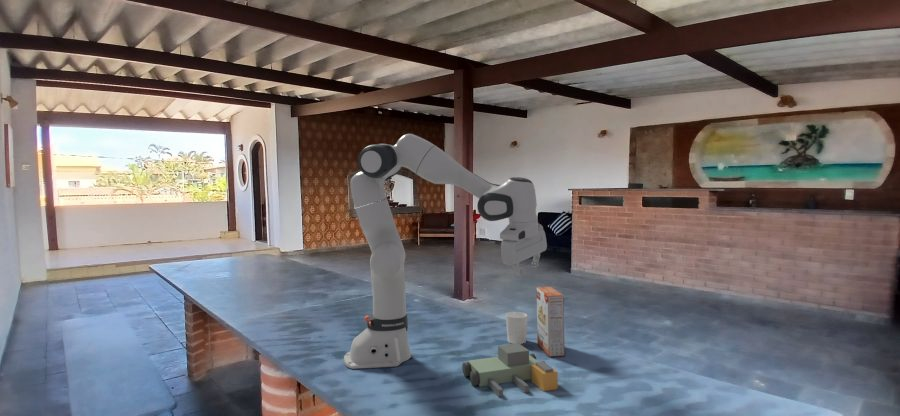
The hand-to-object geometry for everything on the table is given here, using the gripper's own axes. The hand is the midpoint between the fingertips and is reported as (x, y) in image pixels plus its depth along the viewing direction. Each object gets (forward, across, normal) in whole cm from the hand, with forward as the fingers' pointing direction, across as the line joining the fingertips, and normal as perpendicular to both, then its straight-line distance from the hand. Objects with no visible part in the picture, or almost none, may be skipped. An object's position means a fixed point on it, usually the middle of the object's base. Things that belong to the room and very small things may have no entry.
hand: (526, 271), depth 147 cm
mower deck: (+28, +18, +4) cm, 33 cm away
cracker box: (+32, -12, -1) cm, 35 cm away
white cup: (+33, -12, -15) cm, 38 cm away
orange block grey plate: (+28, +14, +13) cm, 34 cm away
